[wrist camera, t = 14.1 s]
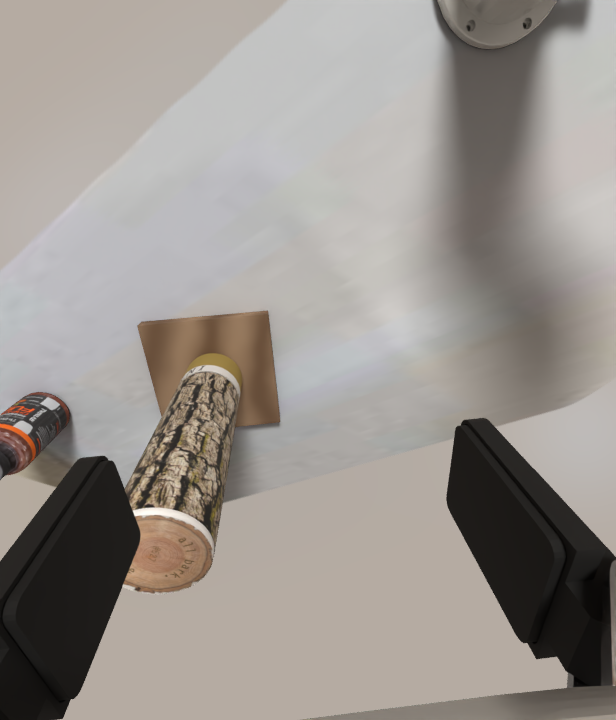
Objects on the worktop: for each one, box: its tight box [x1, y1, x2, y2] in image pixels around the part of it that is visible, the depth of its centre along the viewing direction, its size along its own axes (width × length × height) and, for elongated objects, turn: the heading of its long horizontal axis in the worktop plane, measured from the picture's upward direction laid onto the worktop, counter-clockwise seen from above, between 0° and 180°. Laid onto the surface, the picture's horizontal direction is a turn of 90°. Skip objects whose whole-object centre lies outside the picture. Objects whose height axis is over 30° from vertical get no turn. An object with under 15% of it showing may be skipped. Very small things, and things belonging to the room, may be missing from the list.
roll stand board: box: [137, 311, 280, 427], centre depth 45 cm, size 15×15×2 cm
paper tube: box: [122, 353, 242, 594], centre depth 33 cm, size 7×7×25 cm
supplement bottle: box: [0, 392, 69, 480], centre depth 40 cm, size 6×6×11 cm
